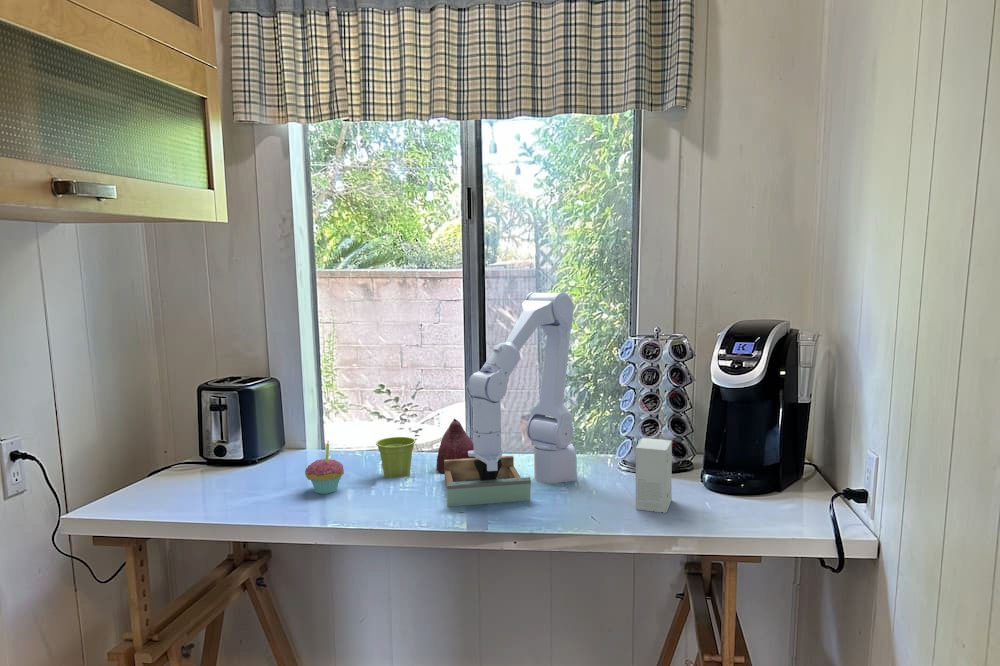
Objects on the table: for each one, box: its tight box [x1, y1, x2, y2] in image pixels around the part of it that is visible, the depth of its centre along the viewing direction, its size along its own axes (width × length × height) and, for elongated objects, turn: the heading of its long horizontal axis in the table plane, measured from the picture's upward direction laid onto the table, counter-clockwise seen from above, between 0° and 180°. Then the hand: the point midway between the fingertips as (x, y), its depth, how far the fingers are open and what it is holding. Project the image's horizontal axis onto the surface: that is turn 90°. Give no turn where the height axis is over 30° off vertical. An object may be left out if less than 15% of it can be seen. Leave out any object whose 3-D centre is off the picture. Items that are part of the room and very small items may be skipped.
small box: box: [634, 437, 673, 514], centre depth 128 cm, size 8×6×13 cm
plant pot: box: [375, 436, 416, 479], centre depth 150 cm, size 9×9×9 cm
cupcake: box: [304, 440, 345, 495], centre depth 141 cm, size 9×8×12 cm
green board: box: [446, 476, 532, 507], centre depth 127 cm, size 17×1×5 cm, turn 99°
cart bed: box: [444, 455, 522, 489], centre depth 136 cm, size 16×16×6 cm
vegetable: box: [435, 418, 475, 475], centre depth 154 cm, size 10×10×15 cm
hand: (488, 494), depth 128 cm, fingers closed, pressing on green board
